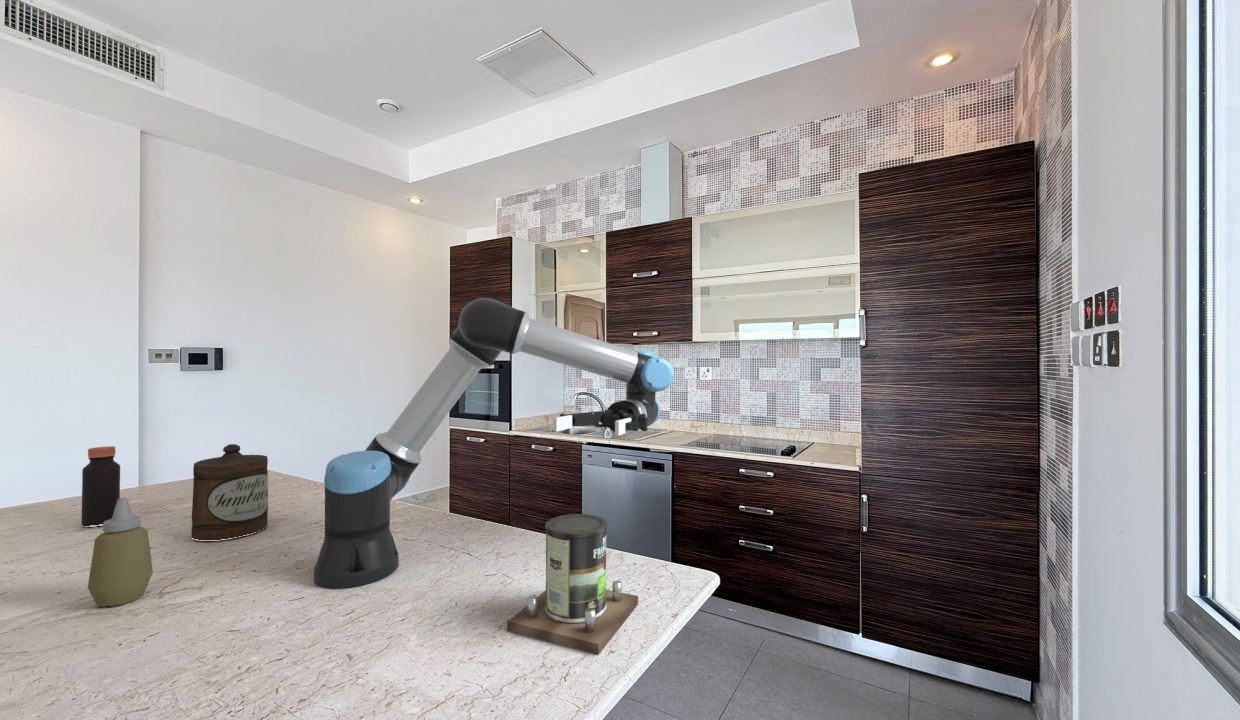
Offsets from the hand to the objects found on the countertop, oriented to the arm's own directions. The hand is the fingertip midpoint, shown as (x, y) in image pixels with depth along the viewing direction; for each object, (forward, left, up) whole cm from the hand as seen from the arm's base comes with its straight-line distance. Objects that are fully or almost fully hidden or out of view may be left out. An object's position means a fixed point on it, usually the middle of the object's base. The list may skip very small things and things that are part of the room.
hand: (584, 426), depth 95 cm
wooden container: (-94, -11, -30) cm, 99 cm away
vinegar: (-132, -21, -30) cm, 137 cm away
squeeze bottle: (-72, -40, -30) cm, 88 cm away
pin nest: (+5, -13, -30) cm, 33 cm away
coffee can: (+5, -13, -29) cm, 32 cm away
